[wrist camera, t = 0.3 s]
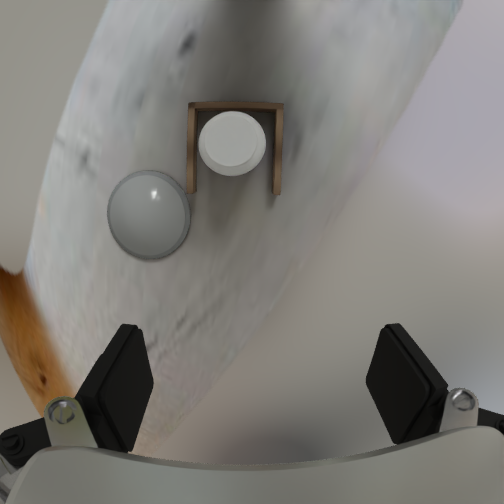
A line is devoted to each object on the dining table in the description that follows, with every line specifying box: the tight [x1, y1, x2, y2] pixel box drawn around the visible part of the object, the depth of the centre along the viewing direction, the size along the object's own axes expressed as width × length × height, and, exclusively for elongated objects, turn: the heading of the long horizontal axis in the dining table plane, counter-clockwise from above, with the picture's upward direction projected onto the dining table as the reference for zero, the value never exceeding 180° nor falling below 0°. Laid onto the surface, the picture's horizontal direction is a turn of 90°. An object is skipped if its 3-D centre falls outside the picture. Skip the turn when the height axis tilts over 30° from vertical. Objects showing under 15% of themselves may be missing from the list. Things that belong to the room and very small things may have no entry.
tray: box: [107, 171, 191, 259], centre depth 37 cm, size 12×12×1 cm
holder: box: [187, 102, 284, 195], centre depth 34 cm, size 12×12×2 cm
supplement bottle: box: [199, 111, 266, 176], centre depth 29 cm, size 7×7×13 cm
